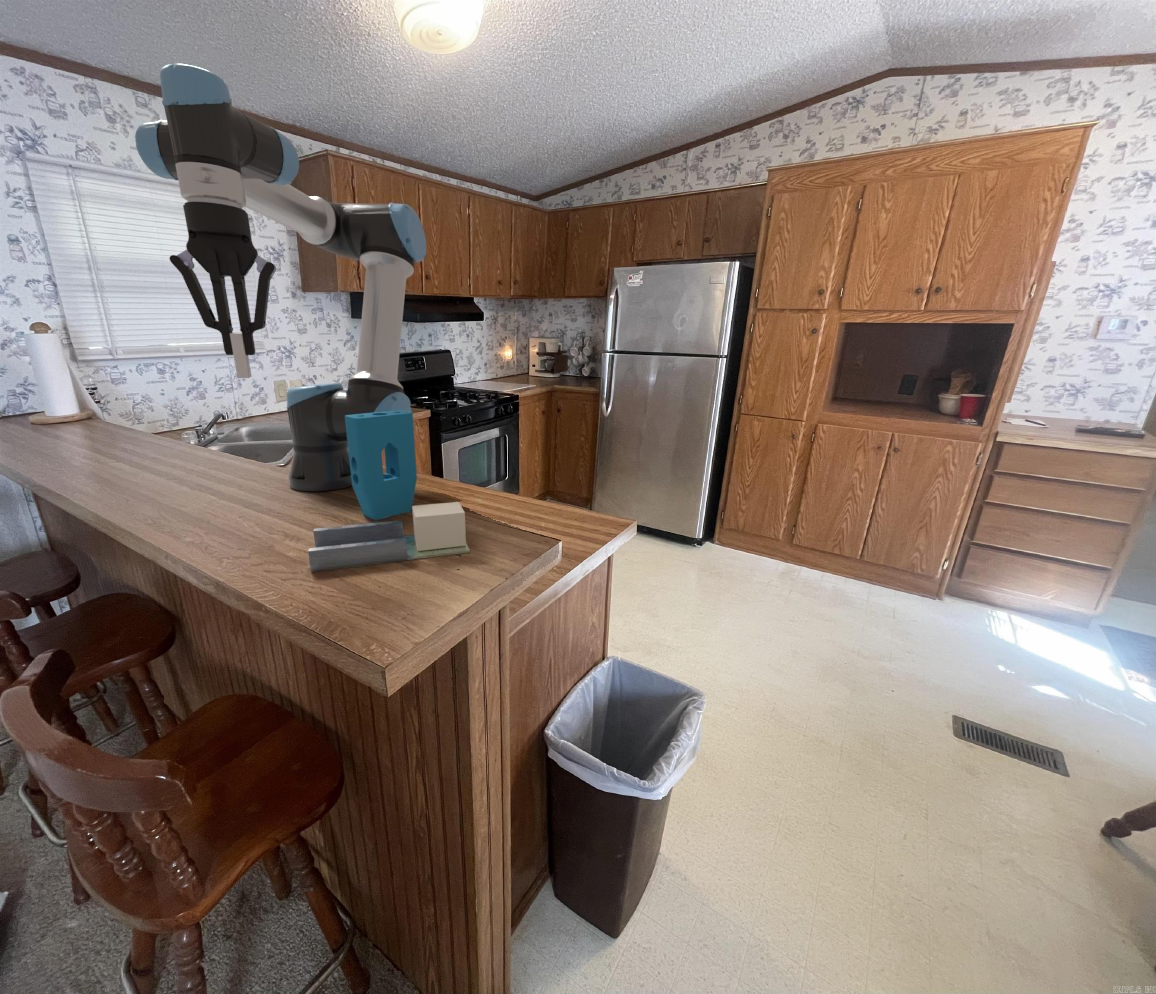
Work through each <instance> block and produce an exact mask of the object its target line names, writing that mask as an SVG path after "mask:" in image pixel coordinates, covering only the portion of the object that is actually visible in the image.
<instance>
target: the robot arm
mask: <svg viewBox="0 0 1156 994" xmlns="http://www.w3.org/2000/svg"><path fill="white" fill-rule="evenodd" d="M159 72H160V73H159V78H160V79H159V80H160V88H161V98H162V100H161V103H162V106H163V107H164V111H165V112H164V113H165V117H166V120H163V119H160V120H157V121H152V122H144V123H142V124H140V125H139V126H138V127H137V129H136V131H135V135H134V138H135V140H134V141H135V146H136V150H137V153H138V155H139V157H140V158H141V160H142V163H144V165H145V166H146V167H147V168H148V169H149V170H150V171H151V172H152V173H153V174H154V175H156V176H158V177H160V178H163V179H165V180H174V181H178V186H179V191H180V196H181V197H182V198H183V199H184V200H185V202H184V204H183V206H182V209H183V212H184V213H183V214H184V219H185V223H186V228H187V232H188V233H187V235H188V239H187V242H186V243H185V247H186V249H185V250H183V251H181V252H180V253H179V254H177V255H176V254H171V255H170V256H169V261H170V263H171V264H172V265H173V266H174V267H175V268H176V270H177V271H178V272H179V273H180V274H181V276H182V279H183V280H184V282H185V285H186V287H187V289H188V291H189V294H190V295H191V298H192V300H193V303H194V304H195V306H196V309H197V311H198V313H199V315H200V318H201V320H202V322H203V323H204V326H205V327H207V328H210V329H213V330H216V331H218V332H219V333H220V334H221V339H222V345H223V350H224V351H223V352H224V353H225V354H226V355H227V356H233V360H234V365H235V371H236V376H237V377H236V379H249V378H251V377H252V372H251V371H252V370H251V365H250V360H249V359H250V358H249V356H255V354H256V347H255V339H254V332H256V331H259V330H263V329H264V328H265V327H266V320H267V311H268V303H269V295H270V285H271V279H272V278H273V276H274V274H275V272H276V271H277V266H276V265H275V264H274V263H273V262H272V261H268V260H266V259H264V258H263V257H261V256H260V255H259V253H258V252H259V251H257V249H256V247H255V246H254V243H253V239H252V233H251V226H250V221H249V220H250V219H249V215H248V213H247V211H246V210H245V209H243V208H247V209H249V210H251V211H253V212H255V213H257V214H259V215H262V216H263V217H266V218H267V219H270V220H272V221H274V222H276V223H278V224H281V225H282V226H284V227H286V228H289V229H291V230H292V231H295V232H297V233H298V234H299V236H300V237H301V239H303V240H304V241H306V242H307V243H308V244H312V245H313V246H315V247H317V248H320V249H322V250H324V251H327V252H330V253H331V254H334V255H337V256H339V257H343V258H345V259H350V260H355V261H359V262H360V263H361V265H362V266H363V267H364V268H365V277H364V289H363V301H362V311H361V323H360V331H359V332H360V333H359V334H360V335H359V343H358V355H357V363H356V364H357V365H356V372H355V374H354V375H352V376H351V377H350V378H348V380H347V381H348V382H347V389H344V387H343V384H342V383H341V382H330V383H322V384H311V385H306V386H305V385H304V386H297V387H296V386H295V387H291V388H289V390H287V392H286V410H287V415H288V416H287V417H288V423H289V427H290V434H291V435H290V436H291V440H292V441H291V442H292V448H293V449H292V450H293V456H292V459H291V465H290V469H289V473H288V482H289V487H290V488H291V489H292V490H297V491H302V492H325V491H333V490H334V491H335V490H340V489H346V488H349V487H353V486H352V479H351V469H350V460H349V450H348V441H347V432H346V422H345V415H353V414H364V413H374V412H384V411H395V410H403V411H408V412H412V407H411V405H412V403H411V400H410V397H408V396H407V395H406V394H405V393H404V387H403V385H402V384H401V383H400V382H399V380H398V375H399V362H400V361H399V360H400V351H401V338H402V329H403V320H404V319H403V316H404V306H405V296H406V295H405V294H406V284H407V279H408V278H409V277H412V275H414V272H415V263H420V262H423V260H424V259H425V257H426V255H427V239H426V234H425V231H424V227H423V224H422V222H421V220H420V217H419V216H418V214H417V212H416V211H415V210H414V208H413V207H412V206H410V205H409V204H405V203H394V202H389V203H352V202H351V203H345V202H344V203H340V202H331V201H327V200H326V199H324V198H323V197H320V196H317V195H316V196H315V195H314V196H309V195H308V194H306V193H304V192H303V191H301V190H299V189H297V188H296V187H294V186H293V185H290V184H291V183H292V182H293V181H294V180H295V179H296V177H297V175H298V173H299V169H300V159H299V155H298V151H297V149H296V147H295V144H293V142H292V141H291V140H290V139H289V138H288V137H287V136H285V134H283V133H281V132H280V131H278V130H276V129H275V128H274V127H273V126H270V125H268V124H266V123H264V122H262V121H260V120H257V119H255V117H254V118H253V117H251V116H250V115H248V114H245V113H244V112H242V111H240V110H239V109H238V108H236V107H235V106H232V103H233V99H232V97H231V96H230V91H229V90H230V89H229V87H228V85H227V84H226V83H225V81H224V80H223V78H221V77H220V76H219V75H217V74H216V73H214V72H211V71H209V70H207V69H204V68H203V67H202V68H201V67H198V66H195V65H189V64H184V63H172V64H167V65H166V64H165V66H163V67H162V68H161V70H160V71H159ZM193 259H194V260H195V261H196V262H197V263H198V264H199V266H201V268H203V270H205V272H206V273H207V274H209V279H210V282H211V286H212V292H213V298H214V303H215V309H216V314H217V319H216V317H215V314H214V312H213V310H212V308H211V306H210V304H209V301H208V298H207V297H206V294H205V292H204V290H203V288H202V285H201V284H200V281H199V278H198V276H197V274H196V273H195V271H194V270H193V269H194V268H195V263H194V262H193ZM424 261H425V260H424ZM255 263H256V271H257V272H258V273H259V275H258V279H257V280H258V281H257V291H256V298H255V299H256V300H255V307H254V308H255V309H254V316H253V317H254V318H253V321H252V318H251V313H250V306H249V301H248V295H247V294H248V293H247V288H246V278H245V277H246V276H247V275H248V273H250V270H252V269H251V268H252V267H253V265H254V264H255ZM225 277H226V278H227V277H230V279H231V283H232V287H233V293H234V294H233V295H234V298H235V304H236V310H237V317H238V322H239V328H240V329H239V331H240V332H233V331H234V328H233V324H232V319H231V312H230V311H231V310H230V306H229V300H228V299H229V298H228V293H227V289H226V288H227V287H226V279H225ZM412 413H413V412H412Z"/></svg>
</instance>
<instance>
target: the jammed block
mask: <svg viewBox="0 0 1156 994" xmlns="http://www.w3.org/2000/svg"><path fill="white" fill-rule="evenodd" d="M411 511H412V524H413V525H412V526H413V535H414V539H415V543H416V547H417V551H423V550H432V549H440V548H449V547H457V546H466V543H467V538H466V535H467V533H466V512H465V510H464V509H463V507H462V505H461V503H460V501H453V502H442V503H441V502H440V503H429V504H417V505H412V510H411Z"/></svg>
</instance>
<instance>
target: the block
mask: <svg viewBox="0 0 1156 994" xmlns="http://www.w3.org/2000/svg"><path fill="white" fill-rule="evenodd" d="M413 415H414V414H413V412H408V411H403V410H395V411H384V412H374V413H364V414H353V415H345V422H346V432H347V441H348V450H349V460H350V469H351V479H352V486H351V487H352V489H353V492H354V493H355V496H356V499H357V502H358V504H359V506H360V509H361V511H362V514H363V516H365V517H367V518H369V519H371V520H373V521H379V520H382V519H387V518H389V517H394V516H397V515H398V516H399V515H400V514H401V515H402V514H405V513H409V512H411V511H412V506H413V502H414V497H415V492H416V486H417V480H418V476H417V474H418V473H417V459H416V444H415V429H414V426H415V425H414V416H413ZM383 450H384V461H385V471H386V472H385V473H384V469H383V468H384V467H383V457H382V456H383V455H382V452H383Z"/></svg>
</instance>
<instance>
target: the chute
mask: <svg viewBox="0 0 1156 994" xmlns="http://www.w3.org/2000/svg"><path fill="white" fill-rule="evenodd" d="M313 539H314V547H310V548H308V550H307V551H308V552H307V553H308V560H309V567H310V572H311V573H313V572H314V573H315V572H321V571H330V570H337V569H346V568H354V567H362V566H363V567H364V566H371V565H381V564H387V563H394V562H395V563H396V562H402V561H410V560H419V559H420V560H421V559H428V558H435V557H436V558H437V557H444V556H452V555H459V554H469V553H470V552H471V550H470V549H469V545H468V544H467V542H466V546H457V547H449V548H440V549H432V550H423V551H417V547H416V543H415V539H414V534H411V535H410V534H409V535H405V534H404V522H403V520H392V521H391V520H390V521H382V522H370V523H369V522H368V523H361V524H360V523H359V524H351V525H349V524H348V525H340V526H339V525H338V526H329V527H320V528H319V527H318V528H313Z"/></svg>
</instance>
